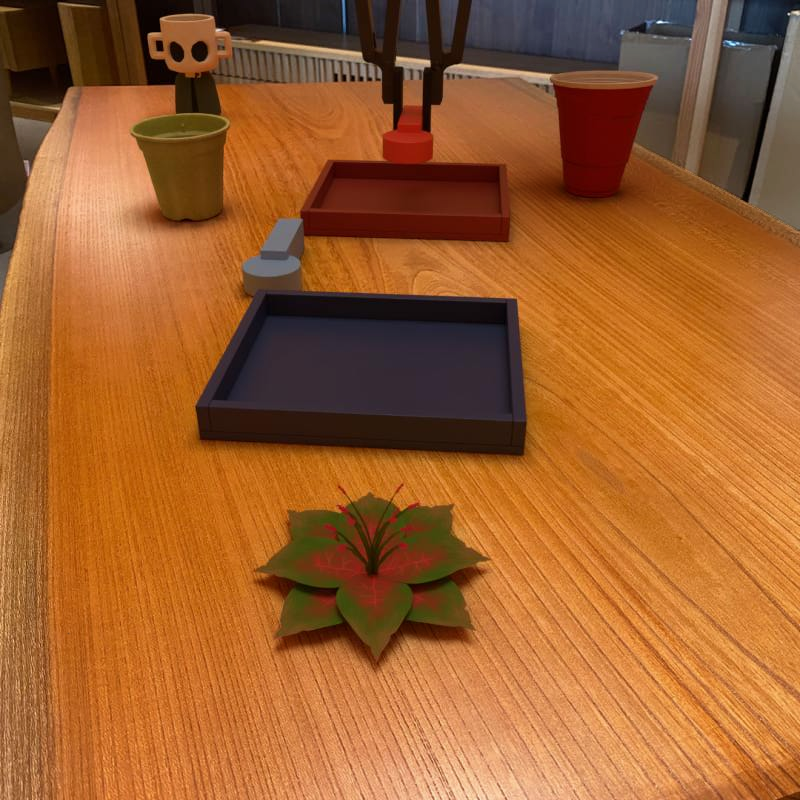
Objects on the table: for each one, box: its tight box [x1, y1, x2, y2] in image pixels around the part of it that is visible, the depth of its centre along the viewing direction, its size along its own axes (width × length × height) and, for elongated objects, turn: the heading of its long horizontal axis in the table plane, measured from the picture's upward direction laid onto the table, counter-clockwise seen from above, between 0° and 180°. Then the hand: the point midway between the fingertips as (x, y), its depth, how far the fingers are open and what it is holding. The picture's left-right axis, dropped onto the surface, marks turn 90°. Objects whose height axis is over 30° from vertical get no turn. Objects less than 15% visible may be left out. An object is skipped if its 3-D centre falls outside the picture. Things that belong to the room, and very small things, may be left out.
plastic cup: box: [549, 70, 659, 198], centre depth 88 cm, size 11×11×12 cm
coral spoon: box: [382, 104, 434, 164], centre depth 82 cm, size 5×11×3 cm, turn 175°
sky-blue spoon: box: [241, 217, 306, 298], centre depth 72 cm, size 5×11×3 cm, turn 175°
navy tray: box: [194, 289, 528, 456], centre depth 57 cm, size 20×17×2 cm
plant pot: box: [128, 113, 231, 222], centre depth 83 cm, size 9×9×9 cm
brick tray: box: [299, 159, 512, 242], centre depth 85 cm, size 20×17×2 cm
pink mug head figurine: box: [147, 13, 234, 116], centre depth 113 cm, size 11×7×13 cm, turn 96°
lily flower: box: [251, 482, 493, 662], centre depth 40 cm, size 12×12×5 cm
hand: (412, 137), depth 85 cm, fingers closed on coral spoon, 2 cm apart
